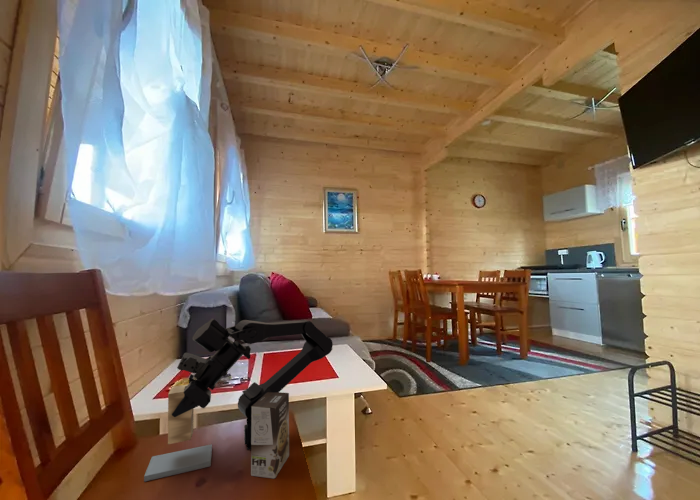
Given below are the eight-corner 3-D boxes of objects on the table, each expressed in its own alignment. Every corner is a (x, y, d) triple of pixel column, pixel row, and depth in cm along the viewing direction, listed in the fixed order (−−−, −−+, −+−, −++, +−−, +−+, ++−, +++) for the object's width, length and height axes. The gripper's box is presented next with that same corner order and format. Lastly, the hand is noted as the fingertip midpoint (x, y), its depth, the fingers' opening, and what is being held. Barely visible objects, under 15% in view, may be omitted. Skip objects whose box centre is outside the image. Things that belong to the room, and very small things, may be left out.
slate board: (212, 448, 84) (212, 444, 84) (210, 466, 77) (210, 461, 77) (151, 461, 79) (152, 456, 79) (144, 481, 72) (144, 476, 72)
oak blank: (193, 430, 82) (193, 383, 82) (190, 439, 77) (191, 390, 78) (171, 434, 80) (172, 386, 81) (167, 444, 75) (168, 394, 76)
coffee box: (275, 479, 72) (275, 407, 72) (250, 476, 73) (250, 406, 74) (290, 455, 81) (289, 392, 81) (267, 453, 82) (266, 390, 83)
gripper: (202, 334, 90) (157, 378, 85) (194, 350, 72) (138, 407, 68) (231, 358, 92) (189, 403, 88) (230, 380, 75) (178, 437, 70)
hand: (175, 411), depth 78 cm, fingers closed on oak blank, 5 cm apart
